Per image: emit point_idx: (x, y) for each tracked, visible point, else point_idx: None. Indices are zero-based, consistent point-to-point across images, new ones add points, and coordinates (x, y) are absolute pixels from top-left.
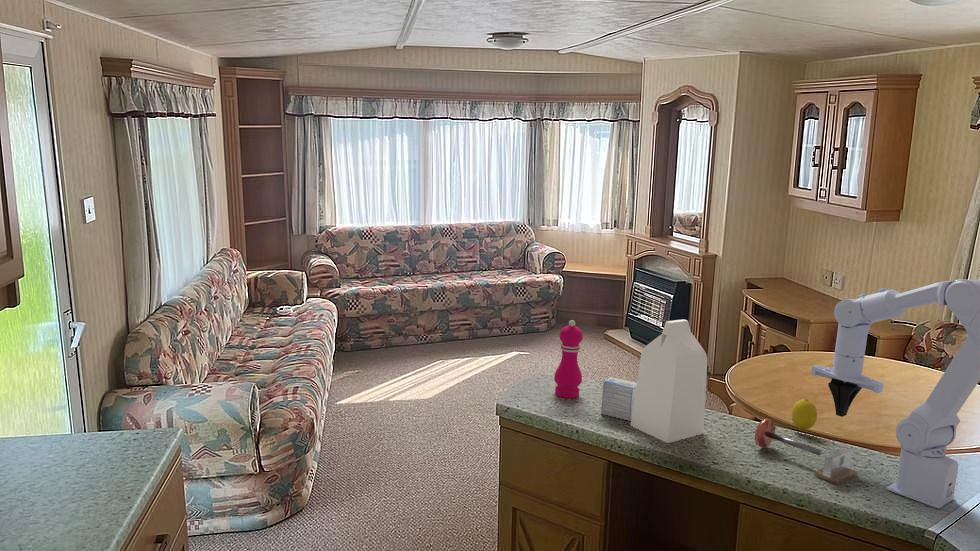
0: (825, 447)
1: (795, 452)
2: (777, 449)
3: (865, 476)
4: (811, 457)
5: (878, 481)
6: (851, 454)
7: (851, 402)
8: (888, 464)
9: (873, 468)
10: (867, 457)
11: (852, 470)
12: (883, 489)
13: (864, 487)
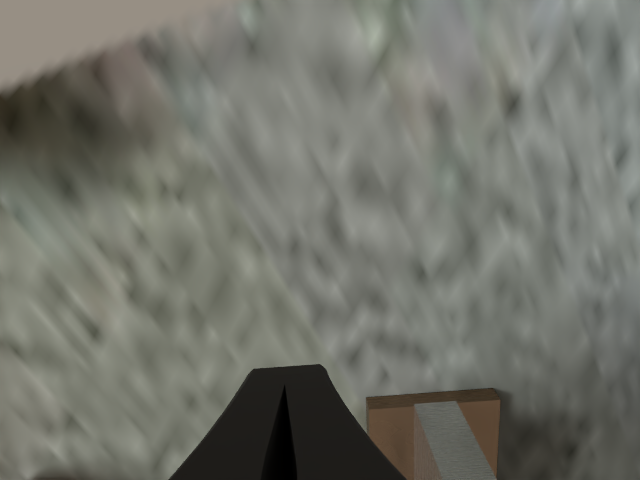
0: (175, 178)
1: (145, 409)
2: (72, 459)
3: (523, 360)
4: (233, 392)
5: (589, 357)
6: (485, 459)
7: (378, 453)
8: (541, 69)
9: (507, 220)
10: (411, 81)
11: (476, 409)
12: (636, 419)
13: (569, 473)
